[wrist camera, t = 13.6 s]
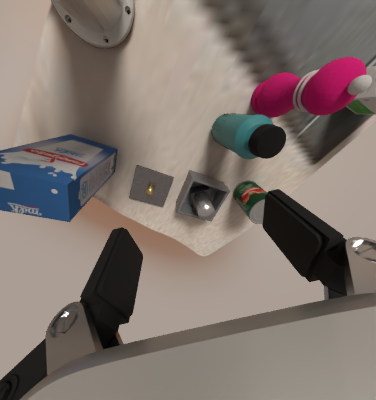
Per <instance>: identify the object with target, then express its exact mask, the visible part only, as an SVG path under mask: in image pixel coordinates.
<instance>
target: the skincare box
mask: <svg viewBox="0 0 376 400" xmlns="http://www.w3.org/2000/svg"><path fill="white" fill-rule="evenodd" d="M366 71H367V75H369V76H371V78H372V83H371V85H370V86H369V88H368V89H367V90H365V91H364V92H362V93H360V94H358V95H357V96H356V97H355V98H354V100H353V101H352V102H351V103H349V104H348V105H347V106H346V107H347V108H348V109H350V110H351V111H352V112H354V113H355V114H376V66H373V67H369V68H366Z"/></svg>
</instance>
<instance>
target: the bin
mask: <svg viewBox="0 0 376 400" xmlns="http://www.w3.org/2000/svg"><path fill="white" fill-rule="evenodd" d="M203 184H204V185H207V186H208V187H209V190H210V196H211V202H212V205H213V207H214V209H215V215H216V213H217V211H218V210H219V208H220V207H221V205H222V203H223V202H224V200H225V198H226V197H227V195H228V194H229V192H230V190H229V189H228V188H227V186H226V185H225V184H224V182H222V181H219V180H216V179H213V178H211V177H208V176H205V175H202V174H199V173H197V172H194V171H191V170H189V173H188V175H187V178H186V180H185V182H184V185H183V187H182V189H181V192H180V194H179V196H178V199H177V201H176V206H177V213H181V214H184V215H188V216H192V217H196V218H199V216H198V212H197V209H194V205H193V201H192V197H191V193H190V188H191V187H195V186H199V185H203ZM215 215H214V216H215ZM214 216H213V217H212V218H211V219H209V220H207V221H212V220H213V218H214Z"/></svg>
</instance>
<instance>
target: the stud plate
mask: <svg viewBox="0 0 376 400" xmlns="http://www.w3.org/2000/svg"><path fill="white" fill-rule="evenodd" d="M173 178H174V177H172V176H169V175H166V174H163V173H160V172H157V171H154V170H151V169H148V168H145V167H142V166H139V165H137V166H136V171H135V175H134V179H133V184H132V188H131V192H130V196H129V198H132V199H136V200H140V201H144V202H148V203H151V204H155V205H159V206H163V205H164V202H165V200H166V197H167V194H168V192H169V189H170V186H171V184H172V181H173Z"/></svg>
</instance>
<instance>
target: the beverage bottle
mask: <svg viewBox="0 0 376 400" xmlns="http://www.w3.org/2000/svg"><path fill="white" fill-rule="evenodd" d="M212 127H213V128H212V134H213V137H214V138H213V139H215V140H216V141H217V143H220V144H221V145H223V146H224V147H226V148H228V149H230V150H232V151H233V152H235V153H237V154H238V155H239V156H241V157H242V158H245V159H253V158H256V157H261V158H272V157H274V156H275V155H277V154H278V153H279V152H280V151H281V150H282V148H283V147H284V145H285V142H286V134H285V131H284V130H283V129H282V128H281V127H278V126H275V125H273V123H272V121H271V120H270V119H269V118H268V117H267V116H265V115H244V114H241V113H240V114H236V113H231V114H228V113H227V114H224V115H223V114H222V116H221V115H220V117H219V118H217V119H216V121H215V122H214V125H213V126H212Z"/></svg>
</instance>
